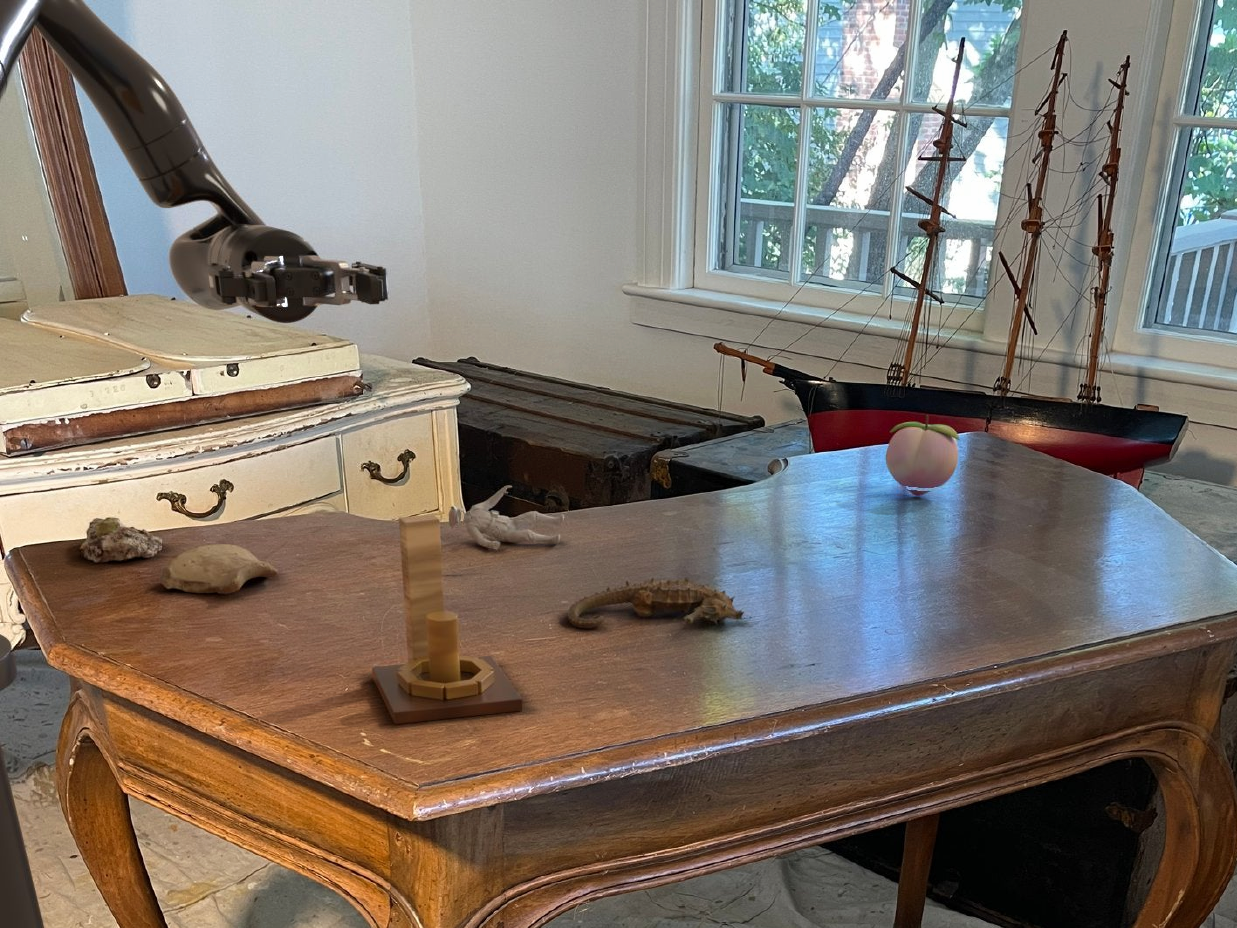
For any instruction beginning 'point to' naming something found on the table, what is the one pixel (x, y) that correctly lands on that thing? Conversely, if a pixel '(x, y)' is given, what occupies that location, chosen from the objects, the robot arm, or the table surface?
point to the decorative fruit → (922, 455)
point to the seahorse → (659, 601)
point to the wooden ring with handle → (426, 598)
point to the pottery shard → (214, 569)
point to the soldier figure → (502, 523)
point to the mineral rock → (117, 541)
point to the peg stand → (444, 681)
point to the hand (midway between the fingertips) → (324, 291)
